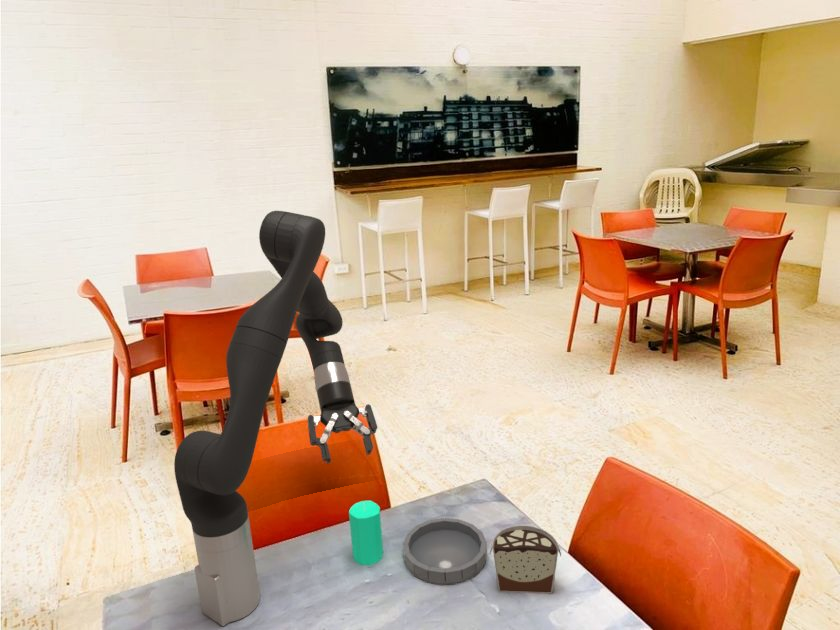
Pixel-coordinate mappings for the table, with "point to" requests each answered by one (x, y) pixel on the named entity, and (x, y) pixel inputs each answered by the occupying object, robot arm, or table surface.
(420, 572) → the plate
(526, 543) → the food container
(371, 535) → the candle
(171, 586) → the table surface
